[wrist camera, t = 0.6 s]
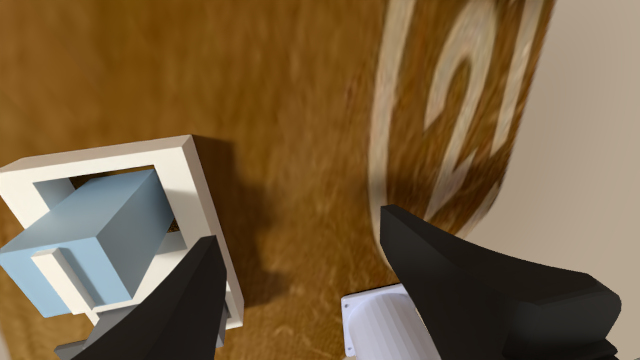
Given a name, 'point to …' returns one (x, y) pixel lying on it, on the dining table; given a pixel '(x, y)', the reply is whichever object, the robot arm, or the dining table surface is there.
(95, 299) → the block
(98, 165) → the housing
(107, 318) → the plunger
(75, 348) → the mat
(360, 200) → the dining table surface
